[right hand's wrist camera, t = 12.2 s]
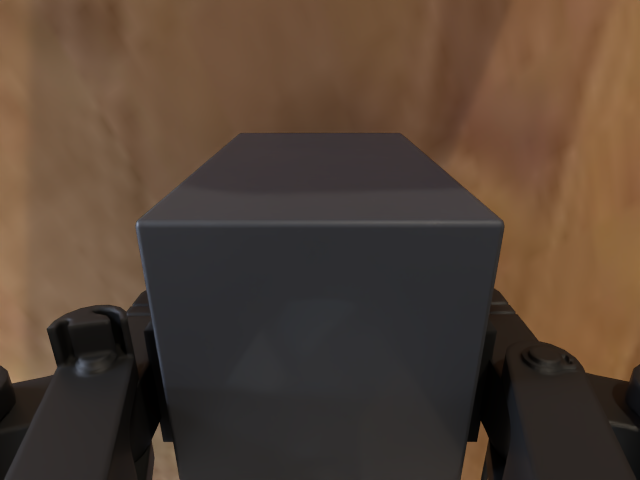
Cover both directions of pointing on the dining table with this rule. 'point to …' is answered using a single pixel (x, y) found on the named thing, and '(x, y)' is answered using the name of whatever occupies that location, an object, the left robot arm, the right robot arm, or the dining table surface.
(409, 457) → the beam
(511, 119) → the dining table surface
